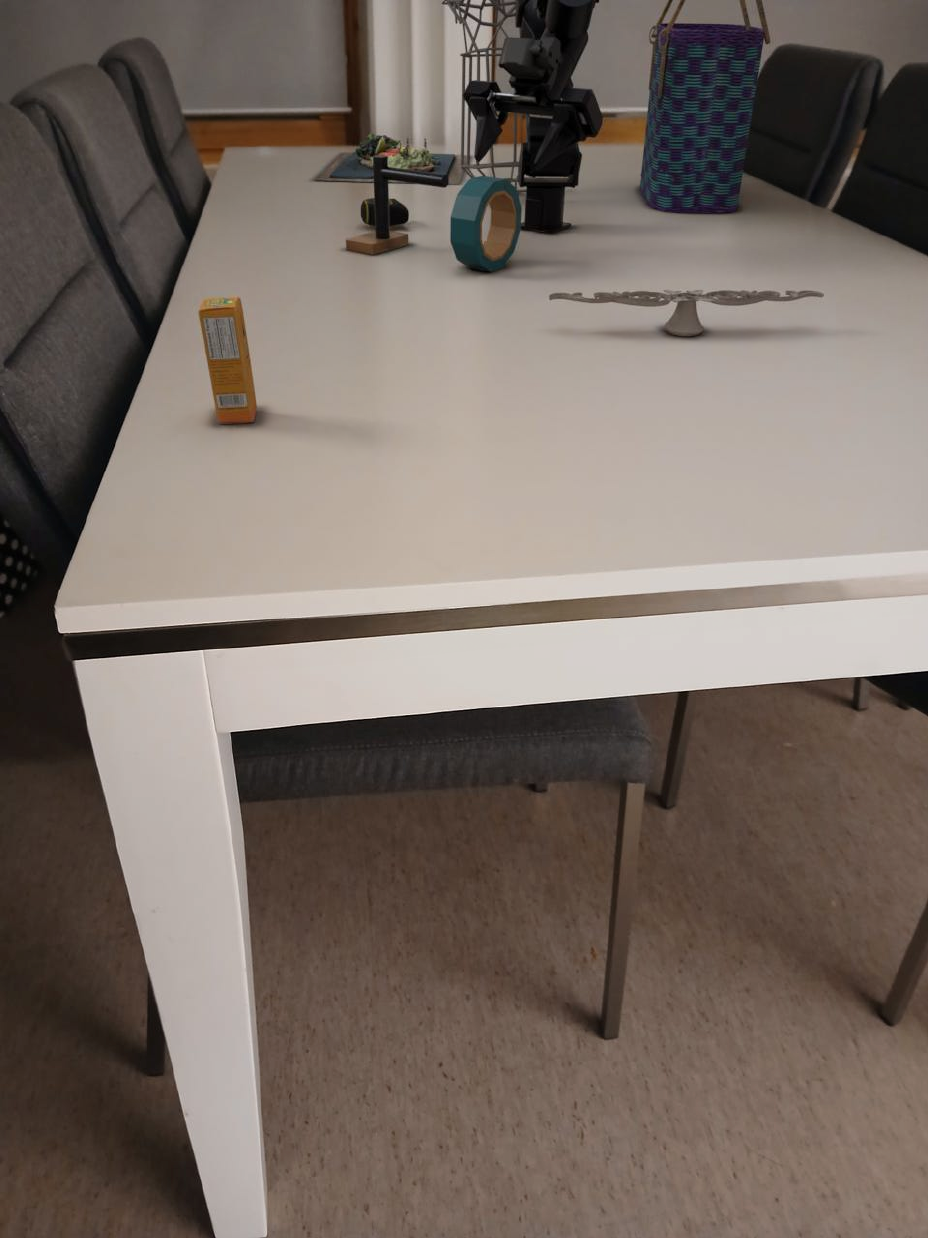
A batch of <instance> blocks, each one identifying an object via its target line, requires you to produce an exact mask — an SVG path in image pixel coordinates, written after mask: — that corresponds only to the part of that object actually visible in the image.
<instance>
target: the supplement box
mask: <svg viewBox="0 0 928 1238" xmlns="http://www.w3.org/2000/svg"><path fill="white" fill-rule="evenodd" d="M201 302H202V303H201V305H200V307H199V309H198V312H197V313H198V318H199V324H200V329H201V335H202V340H203V345H204V352H205V357H206V364H207V368H208V374H209V380H210V386H211V392H212V397H213V402H214V408H215V409H214V410H215V414H216V421H217V424H220V425H222V424H223V425H224V424H226V425H227V424H228V425H229V424H230V425H231V424H246V423H253V422H255V417H256V413H257V410H258V409H257V408H258V404H257V397H256V390H255V389H256V388H255V383H254V375H253V368H252V367H253V366H252V361H251V355H250V346H249V342H248V341H249V340H248V335H247V328H246V321H245V315H244V309H243V304H242V303H243V302H242V300H241V297H239V296H230V297H229V296H227V297H212V298H204V299H203V300H202V301H201Z"/></svg>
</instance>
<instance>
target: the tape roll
mask: <svg viewBox="0 0 928 1238" xmlns="http://www.w3.org/2000/svg"><path fill="white" fill-rule="evenodd" d="M503 178H504V177H503ZM503 178H502V177H496V176H495V177H493V176H487V175H486V176H483V175H479V176H475V177H474V178H470V177H469V178H468V180H467V181H466V182H465V183H464V185H463V186H462V187H461V189H459V191H458V193H457V194H456V197H455V200H454V203H453V207H452V211H451V214H450V224H449V225H450V227H449V228H450V231H449V233H450V234H449V235H450V238H449V239H450V244H451V248H452V250H453V253H454V256H455V259H456V261H458V262H459V263H460V264H462V265H464V266H465V267H466V268H467V269H468V268H469V269H473V270H479V271H485V272H489V273H491V272H495V271H498V270H500V269H503V268H504V267H505V266H506V264H507V263H508V262H509V260H510V259H511V257H512V256H513V255H514V253H515V250H516V247H517V244H518V241H519V238H520V234H521V231H522V229H521V223H522V212H523V211H522V210H523V208H522V207H523V206H522V204H521V200H520V196H519V193H518V192H517V190H518V188H517V189H516V188H515V185H514V184H512V182H511V183H510V182H509V181H508V180H507V179H503ZM488 206H489V207H490V226H489V230H488V233H487V236H486V240H485V242H483V222H484V218H485V215H486V212H487V209H488Z"/></svg>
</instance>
